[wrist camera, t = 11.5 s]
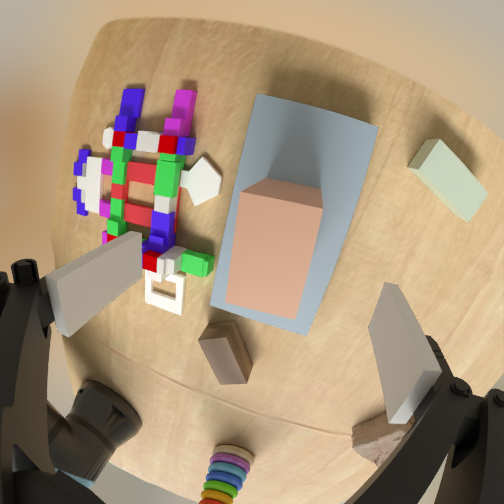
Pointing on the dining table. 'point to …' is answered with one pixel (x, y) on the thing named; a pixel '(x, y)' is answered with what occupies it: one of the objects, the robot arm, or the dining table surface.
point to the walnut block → (226, 353)
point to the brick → (378, 438)
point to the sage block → (448, 178)
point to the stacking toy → (226, 474)
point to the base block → (304, 173)
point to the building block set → (165, 190)
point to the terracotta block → (273, 246)
